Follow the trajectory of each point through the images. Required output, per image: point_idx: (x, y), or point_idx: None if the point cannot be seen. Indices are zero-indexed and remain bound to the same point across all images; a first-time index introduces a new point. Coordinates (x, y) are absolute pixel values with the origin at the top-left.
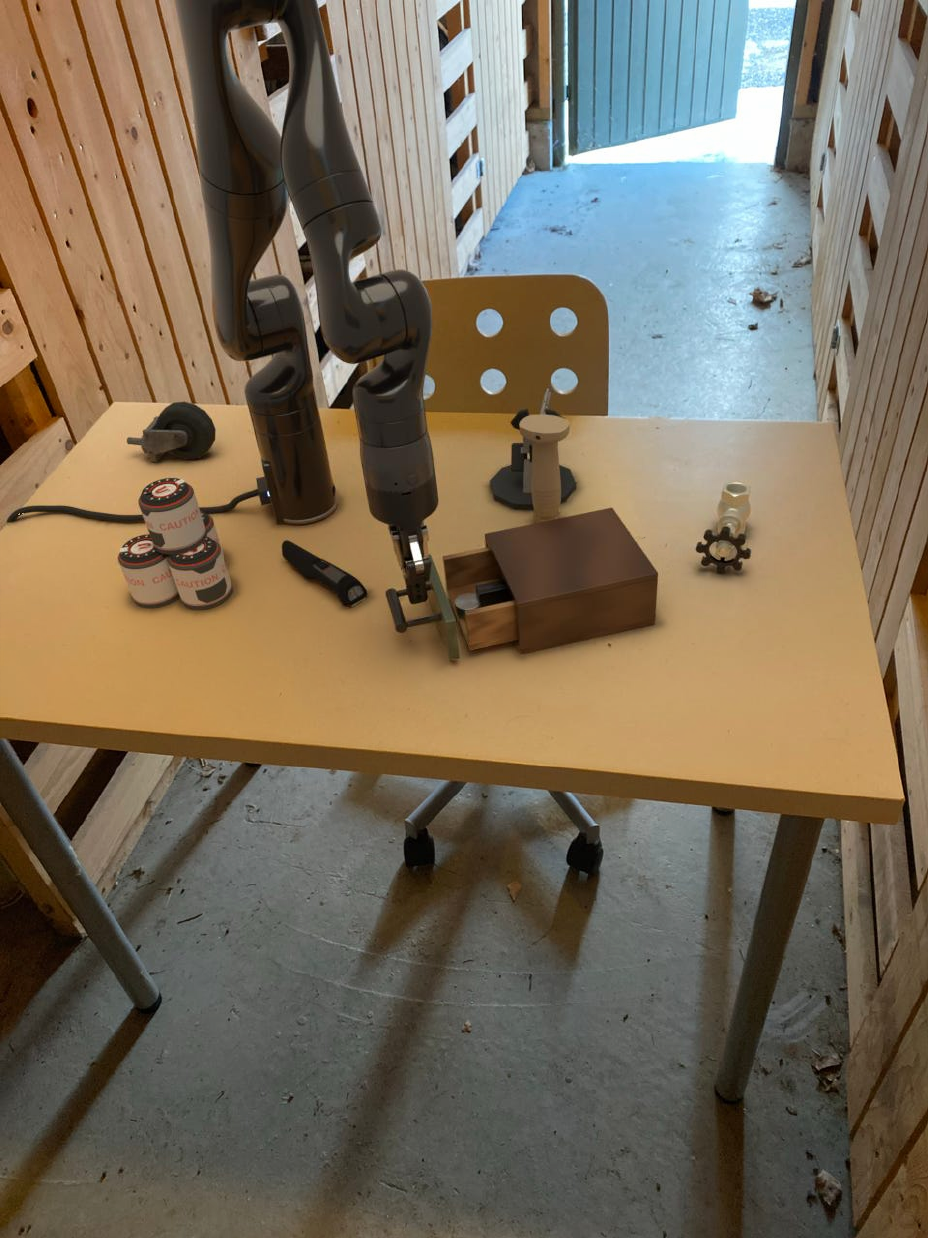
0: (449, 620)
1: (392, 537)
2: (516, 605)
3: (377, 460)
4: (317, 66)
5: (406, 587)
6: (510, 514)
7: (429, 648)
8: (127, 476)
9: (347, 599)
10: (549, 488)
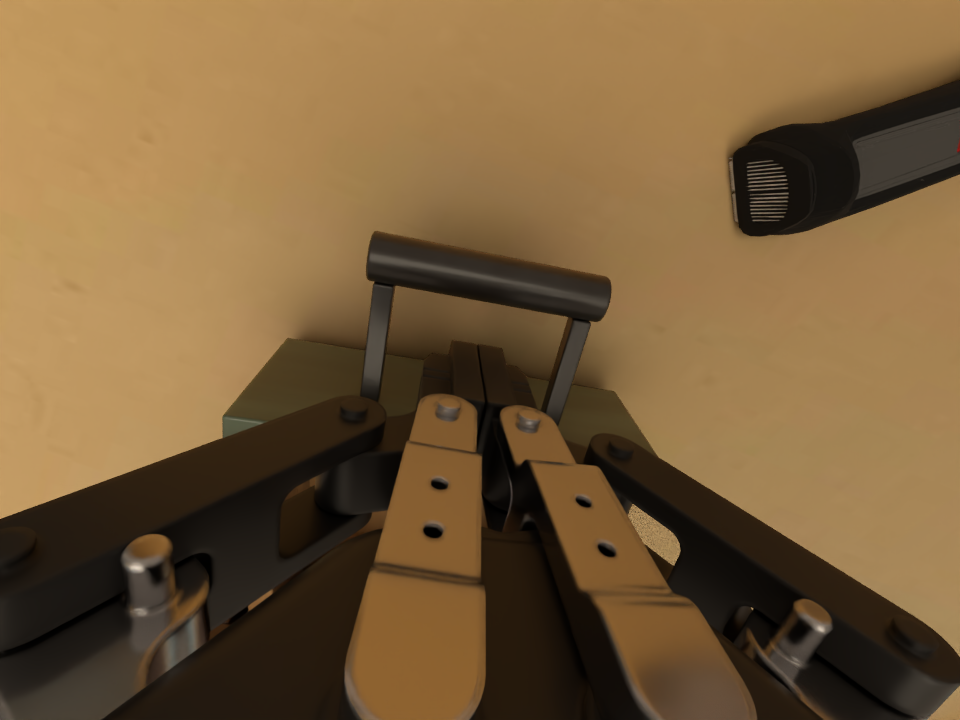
0: (226, 432)
1: (357, 693)
2: (221, 625)
3: None
4: None
5: (488, 368)
6: None
7: (400, 306)
8: None
9: (756, 152)
10: None
